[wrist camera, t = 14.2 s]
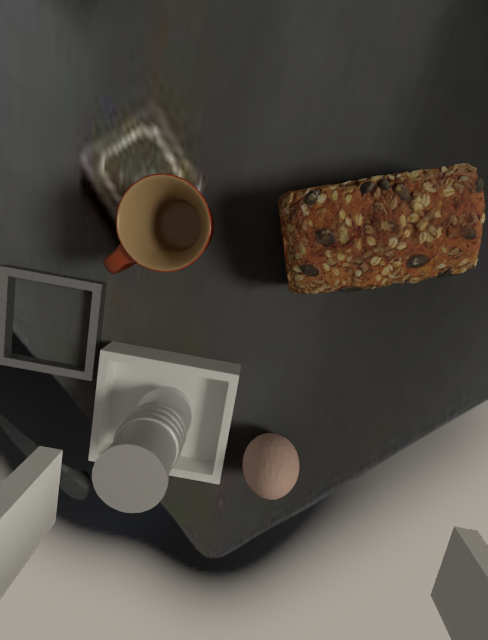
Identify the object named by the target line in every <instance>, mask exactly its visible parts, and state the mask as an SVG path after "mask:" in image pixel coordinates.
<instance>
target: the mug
mask: <svg viewBox="0 0 488 640" xmlns="http://www.w3.org/2000/svg"><path fill="white" fill-rule="evenodd" d="M116 231H117V236H118V238H119V241H120V244H119V245H118V247H117V248H116V250H115V251H114V252H113V253H111V254H110V255H109V256H108V257H107V258H106V259H105V260H104V262H103V263H104V266H105V267H106V269H107V270H108V271H109V272H110V273H111V274H116V273H119V272H122V271H124V270H126V269H127V268H129V267H131V266H132V265H134V264H136V263H137V264H139V265H140V266H142V267H145V268H147V269H150V270H153V271H158V272H173V271H178V270H181V269H183V268H185V267H188V266H189V265H191V264H192V263H193V262H195V261H196V260H197V259H198V258H199V257H200V256H201V254H202V253H203V252H204V250H205V249H206V248H207V247H208V245H209V244H210V242H211V240H212V237H213V233H214V220H213V216H212V213H211V210H210V208H209V207H208V205H207V203H206V201H205V199H204V197H203V196H202V194H201V193H200V192H199V191H198V190H197V188H196V187H194V186H193V185H192V184H191V183H190V182H188V181H186V180H185V179H183V178H181V177H178V176H175V175H171V174H153V175H149V176H146V177H143V178H141V179H139V180H138V181H136V182H135V183H134V184H132V185H131V186H130V187H129V188H128V189H127V191H126V192H125V193H124V195H123V196H122V198H121V200H120V203H119V205H118V209H117V214H116Z"/></svg>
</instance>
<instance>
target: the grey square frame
mask: <svg viewBox="0 0 488 640" xmlns="http://www.w3.org/2000/svg"><path fill="white" fill-rule="evenodd" d="M15 277H16V278H22V279H27V280H33V281H38V282H44V283H49V284H55V285H60V286H66V287H71V288H77V289H82V290H88V291H93V293H92V303H91V313H90V323H89V332H88V342H87V352H86V362H85V367H81V366H75V365H70V364H64V363H59V362H53V361H48V360H42V359H37V358H31V357H26V356H20V355H15V354H11V343H12V327H13V310H14V294H15ZM106 285H107V283H104V282H99V281H93V280H88V279H82V278H77V277H71V276H66V275H60V274H54V273H49V272H43V271H38V270H32V269H27V268H21V267H16V266H10V265H4V266H0V365H7V366H11V367H17V368H22V369H28V370H33V371H39V372H44V373H50V374H55V375H61V376H66V377H72V378H77V379H82V380H88V381H93V380H94V379H95V378H96V377H97V369H98V360H99V350H100V341H101V332H102V322H103V313H104V304H105V294H106Z"/></svg>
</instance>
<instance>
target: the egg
mask: <svg viewBox="0 0 488 640" xmlns="http://www.w3.org/2000/svg"><path fill="white" fill-rule="evenodd" d="M243 473H244V477H245V480H246V482H247V484H248V485H249V486H250V488H251V489H252V490H253V491H254V492H255V493H256V494H257V495H259V496H261V497H263V498H265V499H278V498H281V497H283V496H284V495H286V494H287V493H288V492H289V491H290V490H291V489H292V488H293V486H294V485H295V483H296V481H297V478H298V474H299V459H298V455H297V452H296V450H295V448H294V446H293V445H292V444H291V443H290V441H289V440H288V439H286V438H285V437H283V436H281V435H279V434H274V433H266V434H262V435H259V436H257V437H256V438H255V439H253V440H252V441H251V442H250V443H249V445H248V446H247V448H246V450H245V453H244V456H243Z"/></svg>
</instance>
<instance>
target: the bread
mask: <svg viewBox="0 0 488 640" xmlns="http://www.w3.org/2000/svg"><path fill="white" fill-rule="evenodd" d="M476 169H477V168H475V167H473V166H471V165H469V164H467V163H461V164H456V165H452V166H448V167H445V166H443V167H439V168H435V169H422V170H415V171H412V172H409V173H408V171H407V172H400V173H393V174H388V175H380V176H374V177H370V178H363V179H359V180H354V181H347V182H344V183H339V184H329V185H322V186H316V187H310V188H305V189H301V190H296V191H288V192H285V193H283V194H282V195H280V197H279V198H278V210H279V216H280V223H281V234H282V240H283V247H284V256H285V266H286V272H287V280H288V286H289V290H290V292H292V293H294V294H296V293H299V294H318V293H330V292H334V291H342V292H343V291H348V292H354V291H359V290H361V289H374V288H375V287H376V288H380V287H382V286H389V285H391V284H392V283H398V284H403V283H406V282H410V283H417V282H419V281H422V280H425V279H427V278H432V277H437V278H442V277H445V276H447V275H449V276H454V275H459V274H461V273H463V272H465V271H467V270H470V269H472V268H473V269H476V268H475V267H476V263H477V261H478V252H479V248H480V244H481V236H482V228H483V223H484V220H485V213H484V209H485V203H484V193H483V186H484V182H483V179H480V178H479V177H478V175H477V174H476Z"/></svg>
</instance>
